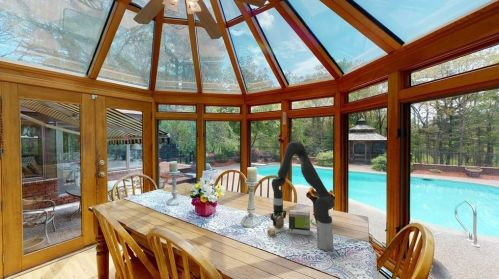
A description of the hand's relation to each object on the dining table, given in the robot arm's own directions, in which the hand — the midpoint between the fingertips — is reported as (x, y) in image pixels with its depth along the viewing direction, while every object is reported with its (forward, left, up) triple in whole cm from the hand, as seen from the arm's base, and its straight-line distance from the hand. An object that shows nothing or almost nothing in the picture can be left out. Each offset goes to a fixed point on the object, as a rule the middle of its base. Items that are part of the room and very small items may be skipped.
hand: (278, 224), depth 177 cm
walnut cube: (0, 0, -1) cm, 1 cm away
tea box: (-12, -10, -3) cm, 17 cm away
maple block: (-7, +11, -3) cm, 13 cm away
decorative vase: (-7, -37, -3) cm, 38 cm away
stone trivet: (0, 0, -3) cm, 3 cm away
